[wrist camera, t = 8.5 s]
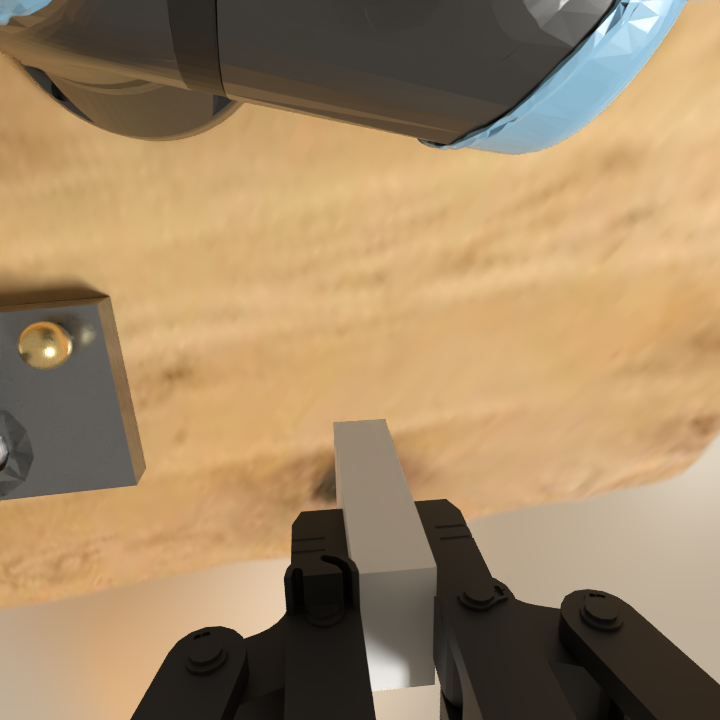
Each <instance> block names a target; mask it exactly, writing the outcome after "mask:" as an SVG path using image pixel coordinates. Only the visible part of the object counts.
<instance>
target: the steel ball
mask: <svg viewBox="0 0 720 720" xmlns="http://www.w3.org/2000/svg"><path fill="white" fill-rule="evenodd" d="M9 455H10V453H9V450H8V447H7V443H6V440H5V437H4V436H3V435H2V434H1V433H0V465H2V464H4V463H5V462H7V460H8V457H9Z"/></svg>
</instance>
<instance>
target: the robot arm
mask: <svg viewBox="0 0 720 720" xmlns="http://www.w3.org/2000/svg"><path fill="white" fill-rule="evenodd" d="M687 1H688V0H0V52H1V53H3V54H6V55H8V56H10V57H13V58H15V59H17V60H19V61H20V62H21V64H22V65H23V66H24V68H25V69H26V70H27V72H28V73H29V74H30V75H31V77H32V78H33V79H34V80H35V81H36V83H37V84H38V85H39V86H40V87H41V88H42V89H43V90H44V91H45V92H46V93H47V94H48V95H49V96H51V97H52V98H53V99H54V100H55V101H56V102H58V103H59V104H60V105H61V106H63V107H64V108H65V109H67V110H68V111H70V112H71V113H72V114H74V115H76V116H77V117H79V118H80V119H82V120H84V121H86V122H88V123H90V124H92V125H94V126H96V127H98V128H101V129H103V130H106V131H109V132H112V133H115V134H119V135H122V136H126V137H130V138H135V139H140V140H148V141H170V140H178V139H184V138H188V137H191V136H195V135H198V134H200V133H203V132H205V131H207V130H209V129H211V128H213V127H215V126H217V125H218V124H220V123H221V122H223V121H224V120H226V119H227V118H228V117H230V116H231V115H232V114H233V113H234V112H235V111H236V110H237V109H238V108H239V107H240V106H241V105H242V104H243V103H244V102H246V103H251V104H256V105H260V106H265V107H270V108H275V109H280V110H284V111H289V112H294V113H299V114H304V115H308V116H313V117H318V118H323V119H328V120H332V121H337V122H342V123H347V124H352V125H356V126H361V127H366V128H371V129H376V130H380V131H385V132H390V133H395V134H400V135H404V136H409V137H414V138H417V139H418V141H420V142H421V143H422V144H424V145H426V146H428V147H431V148H435V149H441V150H446V149H455V150H456V149H460V148H469V149H476V150H482V151H488V152H494V153H500V154H509V155H519V154H525V153H530V152H537V151H540V150H543V149H546V148H549V147H552V146H554V145H556V144H557V143H559V142H561V141H563V140H565V139H567V138H569V137H570V136H572V135H573V134H575V133H577V132H578V131H580V130H581V129H582V128H583V127H585V126H586V125H587V124H589V123H590V122H591V121H592V120H593V119H595V118H596V117H597V116H598V115H599V114H600V113H601V112H603V111H604V110H605V109H606V108H607V107H608V106H609V105H610V104H611V103H612V102H613V101H614V100H615V99H616V98H617V97H618V96H619V95H620V93H621V92H622V91H623V90H624V89H625V88H626V87H627V86H628V85H629V84H630V82H631V81H632V80H633V79H634V78H635V77H636V75H637V74H638V73H639V72H640V70H641V69H642V68H643V67H644V65H645V64H646V63H647V61H648V60H649V59H650V58H651V56H652V55H653V54H654V52H655V51H656V50H657V48H658V47H659V45H660V44H661V42H662V41H663V39H664V38H665V36H666V35H667V33H668V32H669V30H670V29H671V27H672V26H673V24H674V23H675V21H676V19H677V18H678V16H679V14H680V13H681V11H682V10H683V8H684V6H685V4H686V3H687ZM333 424H334V446H335V469H336V492H337V509H331V510H318V511H305V512H301V513H300V514H299V516H298V517H297V519H296V520H295V522H294V523H293V525H292V546H291V565H290V566H289V567H288V568H287V570H286V573H285V576H284V585H285V598H286V610H287V611H286V613H285V615H284V616H283V617H282V618H281V619H280V620H279V622H277V623H276V624H275V625H273V626H272V627H270V628H269V629H267V630H265V631H263V632H261V633H259V634H256V635H253V636H251V637H248V638H245V639H243V637H242V636H241V635H240V634H239V633H237V632H236V631H235V630H233V629H230V628H225V627H222V626H217V627H205V628H203V629H200V630H197V631H194V632H191V633H190V634H188V635H187V636H185V637H184V638H182V639H181V640H179V641H178V642H177V643H176V644H175V646H174V647H173V648H172V649H171V651H170V652H169V653H168V655H167V656H166V658H165V660H164V662H163V663H162V665H161V667H160V669H159V670H158V672H157V674H156V676H155V677H154V679H153V681H152V683H151V685H150V686H149V688H148V690H147V691H146V693H145V695H144V697H143V698H142V700H141V702H140V704H139V705H138V707H137V709H136V711H135V712H134V714H133V716H132V718H131V719H130V720H376V717H375V710H374V703H373V696H372V691H379V690H388V689H397V688H407V687H416V686H426V685H434V684H435V667H436V671H437V674H438V678H439V681H440V685H441V690H440V691H441V692H440V720H720V685H719V684H718V683H717V682H716V681H715V680H714V679H713V678H711V677H710V676H709V675H708V674H707V673H706V672H705V671H704V670H702V669H701V668H700V667H699V666H698V665H697V664H696V663H694V662H693V661H692V660H691V659H690V658H689V657H688V656H687V655H685V654H684V653H683V652H682V651H681V650H680V649H679V648H678V647H677V646H675V645H674V644H673V643H672V642H671V641H670V640H669V639H667V638H666V637H665V636H664V635H663V634H662V633H661V632H660V631H658V630H657V629H656V628H655V627H654V626H653V625H652V624H651V623H649V622H648V621H647V620H646V619H645V618H644V617H643V616H642V615H640V614H639V613H638V612H637V611H636V610H635V609H634V608H633V607H631V606H630V605H629V604H627V603H626V602H624V601H623V600H621V599H620V598H618V597H616V596H614V595H611V594H609V593H606V592H603V591H597V590H590V589H586V590H578V591H574V592H572V593H571V594H569V595H567V596H565V598H564V600H563V602H562V603H561V608H560V609H558V608H551V607H544V606H538V605H533V604H529V603H525V602H522V601H520V600H517V599H515V597H514V595H513V593H512V592H511V591H510V590H509V589H508V587H507V586H506V585H505V584H503V583H502V582H500V581H498V580H497V579H495V578H492V576H491V574H490V572H489V570H488V567H487V565H486V563H485V561H484V559H483V557H482V555H481V553H480V551H479V549H478V547H477V545H476V543H475V540H474V538H472V534H471V532H470V530H469V528H468V527H467V524H466V522H465V520H464V517H463V515H462V513H461V511H460V510H459V509H458V508H457V507H455V506H454V505H453V504H452V503H450V502H449V501H448V500H447V499H440V500H427V501H414V500H413V497H412V495H411V492H410V489H409V486H408V483H407V480H406V477H405V475H404V472H403V469H402V466H401V463H400V460H399V458H398V455H397V452H396V449H395V446H394V443H393V440H392V438H391V435H390V432H389V429H388V426H387V423H386V420H385V419H378V420H363V421H347V422H333Z"/></svg>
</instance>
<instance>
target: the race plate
mask: <svg viewBox="0 0 720 720" xmlns="http://www.w3.org/2000/svg"><path fill="white" fill-rule="evenodd" d="M40 321H49V322H54V323H56V324H59V325H60V326H62V327H63V328H65V329H66V330H67V332H68V333H69V334H70V336H71V338H72V342H73V350H72V353H71V356H70V357H69V359H68V360H67V361H66V362H65V363H64V364H63V365H61V366H60V367H58V368H55V369H51V370H39V369H35V368H33V367H31V366H29V365H27V364H26V363H25V362H24V361H23V360H22V359H21V357H20V356H19V354H18V351H17V340H18V337H19V335H20V333H21V332H22V331H23V330H24V329H25V328H26V327H27V326H29V325H30V324H33V323H36V322H40ZM0 433H1V434H2V435H3V436H4V437H5V440H6V443H7V447H8V450H9V453H10V455H9V457H8V460H7V462H5V463H4V464H2V465H0V500H9V499H17V498H26V497H35V496H44V495H53V494H62V493H71V492H80V491H89V490H98V489H107V488H116V487H125V486H134V485H137V484H138V482H139V480H140V478H141V476H142V475H143V473H144V471H145V469H146V465H145V460H144V456H143V451H142V446H141V442H140V437H139V432H138V427H137V423H136V418H135V413H134V408H133V404H132V399H131V394H130V390H129V385H128V380H127V375H126V371H125V366H124V361H123V357H122V352H121V347H120V342H119V338H118V333H117V328H116V324H115V319H114V314H113V309H112V305H111V300H110V297H99V298H87V299H76V300H64V301H53V302H41V303H30V304H19V305H7V306H0Z"/></svg>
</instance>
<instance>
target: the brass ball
mask: <svg viewBox="0 0 720 720" xmlns="http://www.w3.org/2000/svg"><path fill="white" fill-rule="evenodd" d="M72 350H73V342H72V338H71V336H70V334H69V333H68V332H67V330H66V329H65V328H63V327H62V326H60V325H59V324H56V323H54V322H49V321H40V322H36V323H33V324H30V325H29V326H27V327H26V328H25V329H24V330H23V331H22V332H21V333H20V335H19V337H18V340H17V351H18V354H19V356H20V357H21V359H22V360H23V361H24V362H25V363H26V364H27V365H29V366H31V367H33V368H35V369H39V370H51V369H55V368H58V367H60V366H61V365H63V364H64V363H65V362H66V361H67V360H68V359H69V357H70V356H71V353H72Z"/></svg>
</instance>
